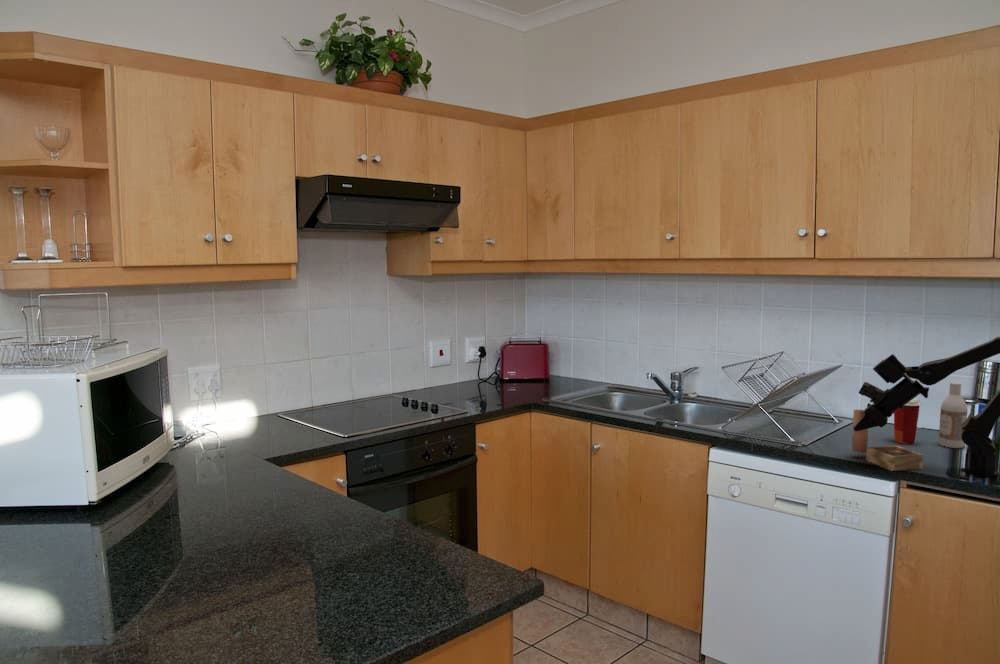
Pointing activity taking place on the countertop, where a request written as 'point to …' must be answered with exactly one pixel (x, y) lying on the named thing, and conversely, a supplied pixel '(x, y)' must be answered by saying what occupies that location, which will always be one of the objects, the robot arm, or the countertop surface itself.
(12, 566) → the countertop surface
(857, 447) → the peg
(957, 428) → the bath foam
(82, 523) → the countertop surface
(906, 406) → the paper cup
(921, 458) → the box
